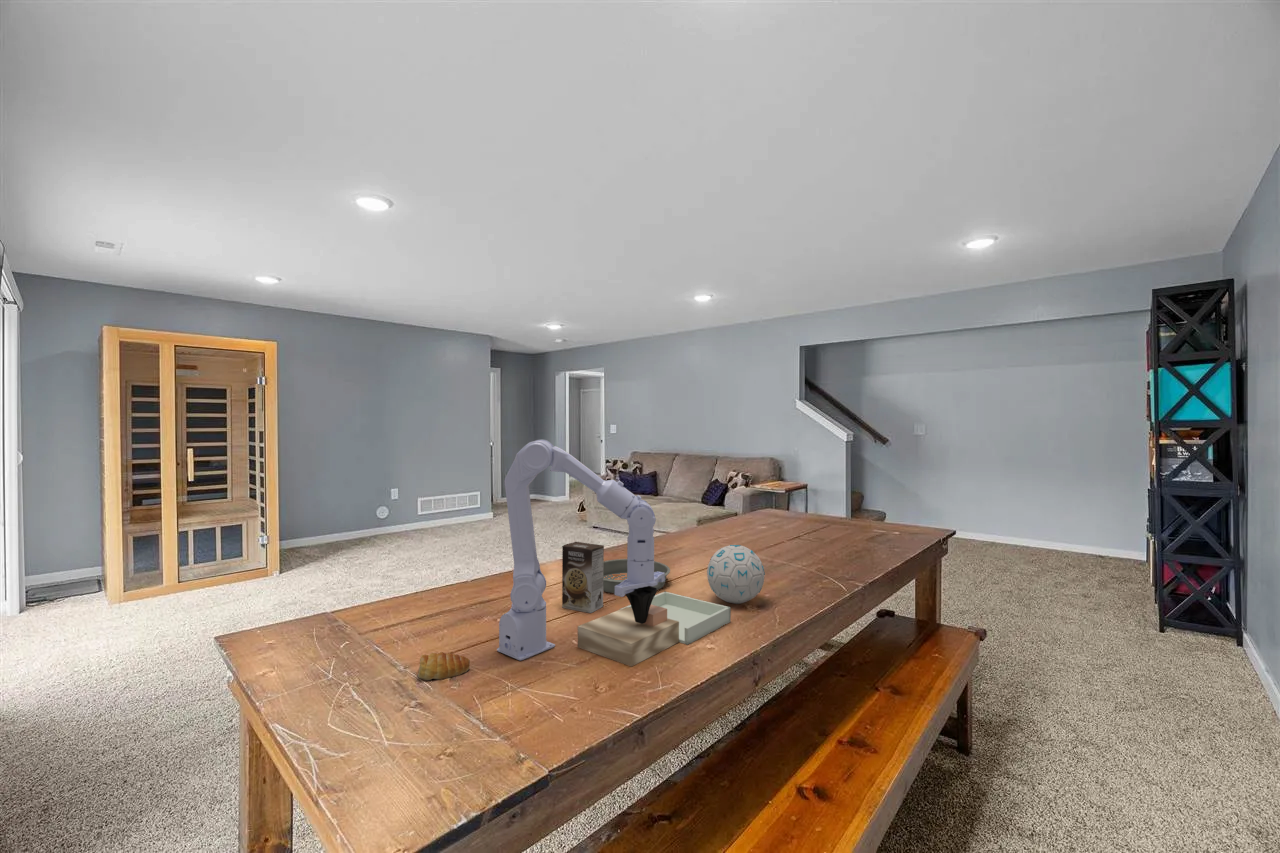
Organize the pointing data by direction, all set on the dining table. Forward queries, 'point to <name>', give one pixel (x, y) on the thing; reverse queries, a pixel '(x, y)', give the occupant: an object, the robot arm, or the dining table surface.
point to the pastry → (442, 665)
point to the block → (626, 637)
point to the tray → (692, 615)
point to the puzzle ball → (735, 574)
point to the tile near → (656, 615)
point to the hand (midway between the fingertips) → (640, 621)
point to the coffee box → (582, 576)
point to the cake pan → (621, 567)
